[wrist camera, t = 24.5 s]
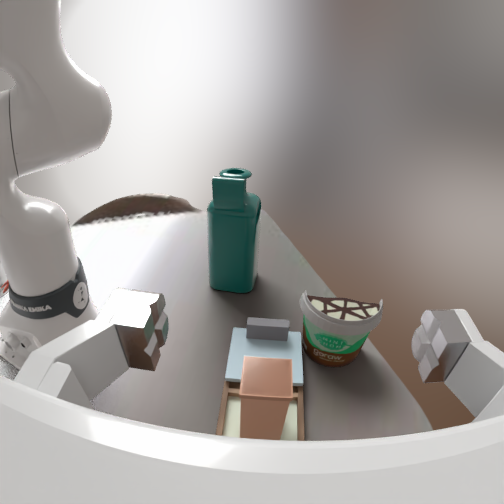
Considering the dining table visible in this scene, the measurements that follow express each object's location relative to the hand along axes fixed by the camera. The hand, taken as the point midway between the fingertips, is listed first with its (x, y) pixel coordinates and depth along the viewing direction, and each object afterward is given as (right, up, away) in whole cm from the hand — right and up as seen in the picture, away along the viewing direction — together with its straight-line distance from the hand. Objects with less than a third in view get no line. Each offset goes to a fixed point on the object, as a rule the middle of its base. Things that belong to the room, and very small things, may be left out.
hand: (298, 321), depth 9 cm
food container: (+11, -14, +37) cm, 41 cm away
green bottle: (-5, -4, +53) cm, 53 cm away
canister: (0, -19, +25) cm, 32 cm away
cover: (+1, -13, +34) cm, 37 cm away
